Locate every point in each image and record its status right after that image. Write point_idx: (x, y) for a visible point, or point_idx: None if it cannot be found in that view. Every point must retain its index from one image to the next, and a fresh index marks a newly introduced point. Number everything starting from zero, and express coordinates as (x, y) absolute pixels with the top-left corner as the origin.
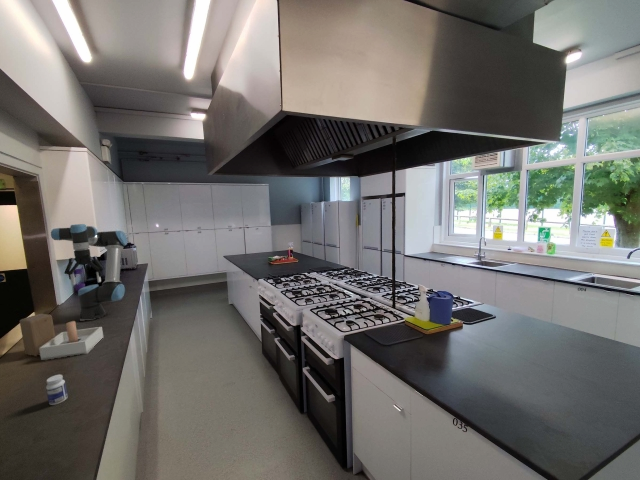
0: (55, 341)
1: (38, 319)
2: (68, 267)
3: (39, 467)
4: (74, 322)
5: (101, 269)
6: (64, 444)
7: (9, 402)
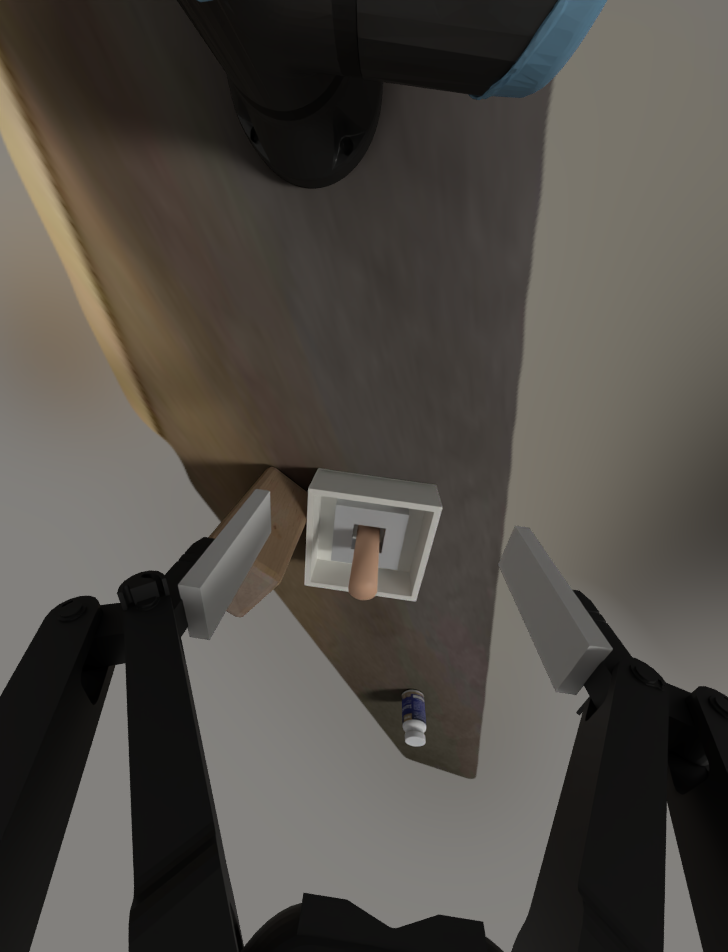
0: (315, 527)
1: (254, 605)
2: (59, 806)
3: (431, 762)
4: (376, 592)
5: (668, 753)
6: (444, 752)
7: (341, 670)
